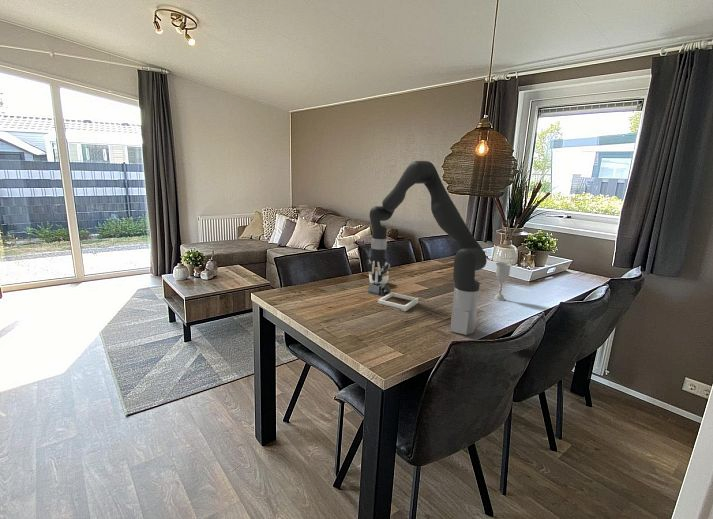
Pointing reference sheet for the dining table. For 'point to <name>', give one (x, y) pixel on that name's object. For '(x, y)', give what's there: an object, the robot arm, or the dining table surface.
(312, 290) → the dining table surface
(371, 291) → the block
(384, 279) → the lidded jar
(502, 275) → the chalice
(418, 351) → the dining table surface
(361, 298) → the dining table surface
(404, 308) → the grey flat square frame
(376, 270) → the pin
